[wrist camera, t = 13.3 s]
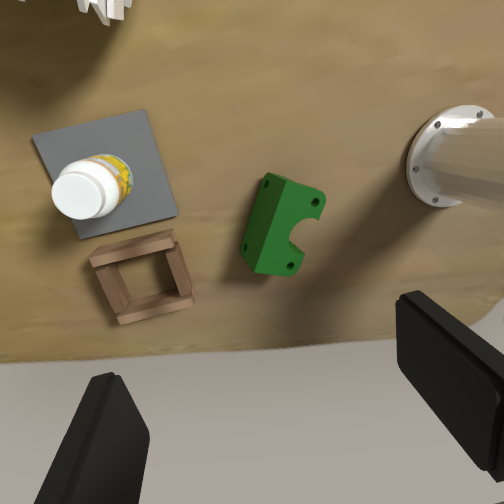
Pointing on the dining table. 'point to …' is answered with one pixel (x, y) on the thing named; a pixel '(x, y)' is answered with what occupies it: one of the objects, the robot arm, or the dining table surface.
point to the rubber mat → (125, 148)
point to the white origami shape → (105, 8)
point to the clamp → (278, 224)
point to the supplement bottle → (92, 186)
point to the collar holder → (117, 287)
